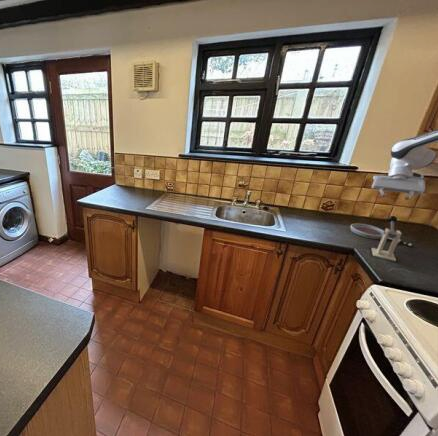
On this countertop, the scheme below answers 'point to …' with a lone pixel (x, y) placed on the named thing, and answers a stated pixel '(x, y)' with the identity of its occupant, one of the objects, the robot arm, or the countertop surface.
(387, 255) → the white stand
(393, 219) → the stove lever
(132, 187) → the countertop surface
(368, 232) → the frying pan
